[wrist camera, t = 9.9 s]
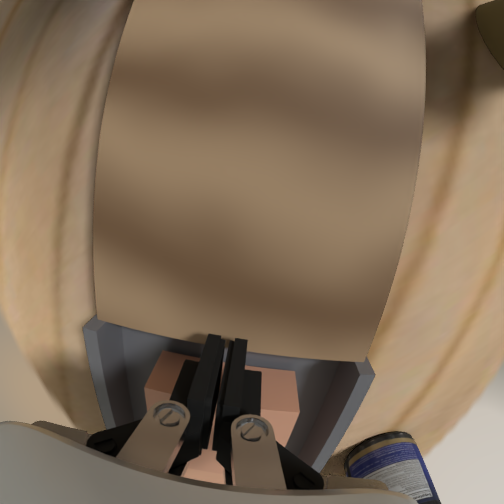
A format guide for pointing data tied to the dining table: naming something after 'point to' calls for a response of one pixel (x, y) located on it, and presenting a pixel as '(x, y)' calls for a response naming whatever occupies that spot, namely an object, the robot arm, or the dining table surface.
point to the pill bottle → (393, 466)
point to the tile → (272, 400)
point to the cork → (492, 27)
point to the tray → (151, 346)
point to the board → (259, 170)
